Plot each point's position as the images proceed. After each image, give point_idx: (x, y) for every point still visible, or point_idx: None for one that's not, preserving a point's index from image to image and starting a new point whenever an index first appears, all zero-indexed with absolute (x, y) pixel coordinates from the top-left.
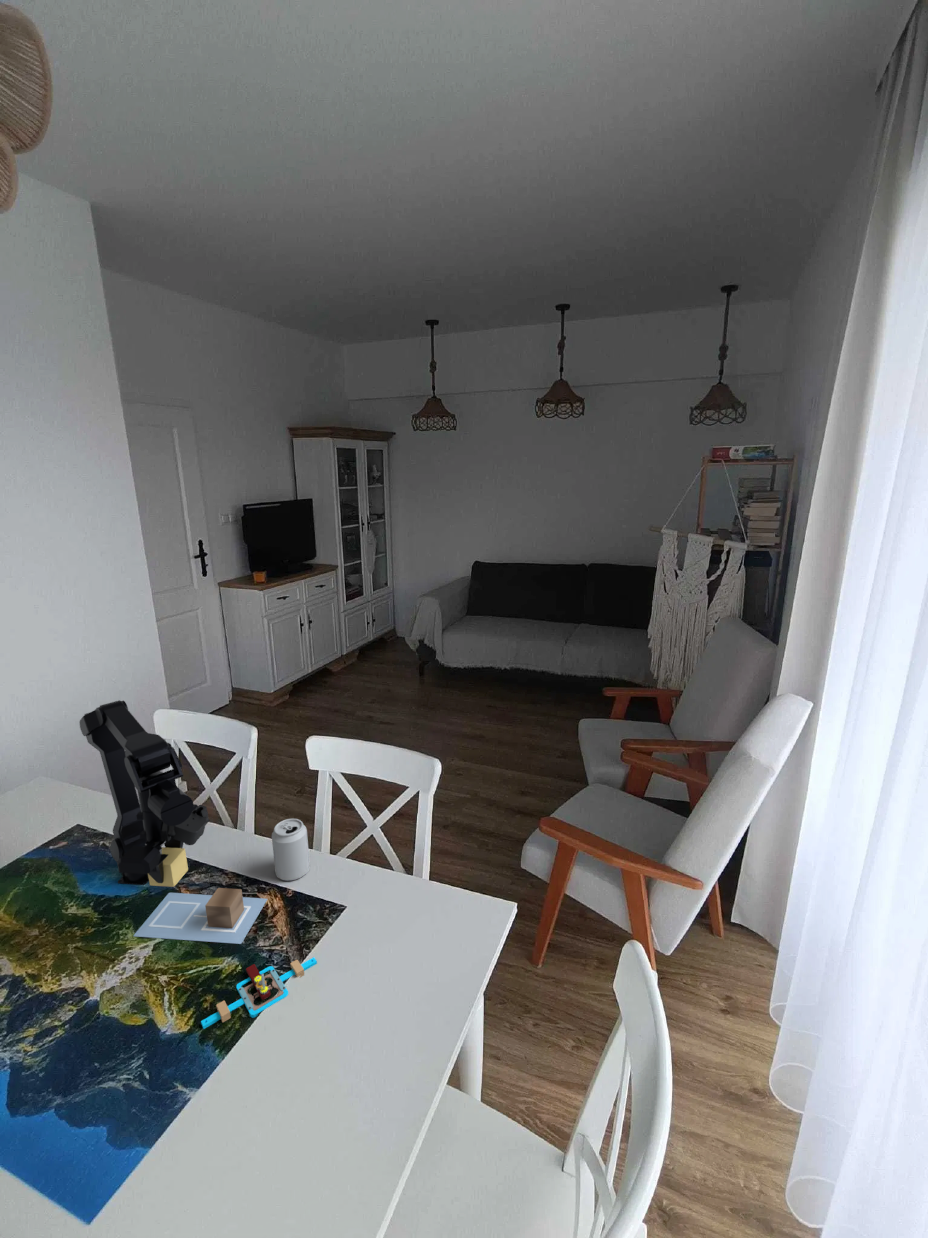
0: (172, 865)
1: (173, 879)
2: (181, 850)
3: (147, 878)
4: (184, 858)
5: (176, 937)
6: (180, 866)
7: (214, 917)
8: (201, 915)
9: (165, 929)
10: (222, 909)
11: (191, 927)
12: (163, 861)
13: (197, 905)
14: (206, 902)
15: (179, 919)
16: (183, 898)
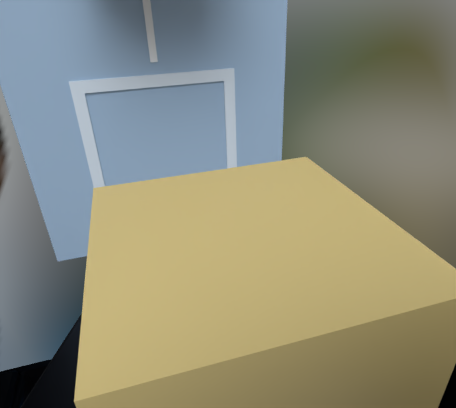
0: (416, 273)
1: (330, 184)
2: (149, 405)
3: (26, 378)
4: (129, 272)
5: (278, 59)
6: (219, 230)
7: None
8: (142, 21)
9: (243, 134)
10: None
11: (220, 25)
12: (401, 403)
13: (88, 86)
14: (51, 53)
15: (186, 114)
16: (67, 184)
